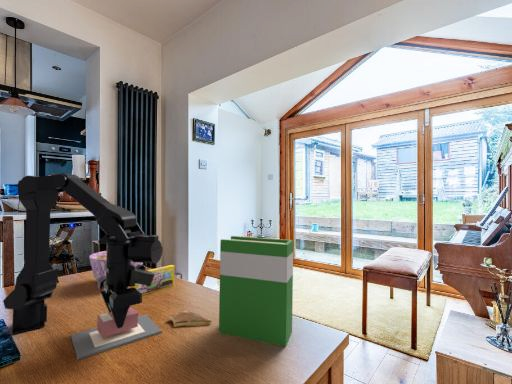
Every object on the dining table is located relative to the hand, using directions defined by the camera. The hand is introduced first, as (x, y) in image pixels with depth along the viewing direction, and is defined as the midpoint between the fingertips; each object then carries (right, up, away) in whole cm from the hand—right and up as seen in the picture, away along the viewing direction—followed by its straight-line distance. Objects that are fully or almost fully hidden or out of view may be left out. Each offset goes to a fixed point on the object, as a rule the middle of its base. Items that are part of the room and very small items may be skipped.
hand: (117, 323), depth 66 cm
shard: (+16, -4, +9) cm, 19 cm away
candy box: (-3, -4, +31) cm, 31 cm away
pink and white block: (0, -1, 0) cm, 1 cm away
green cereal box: (+35, -4, +2) cm, 35 cm away
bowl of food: (-20, -4, +39) cm, 44 cm away
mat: (0, -3, 0) cm, 3 cm away
